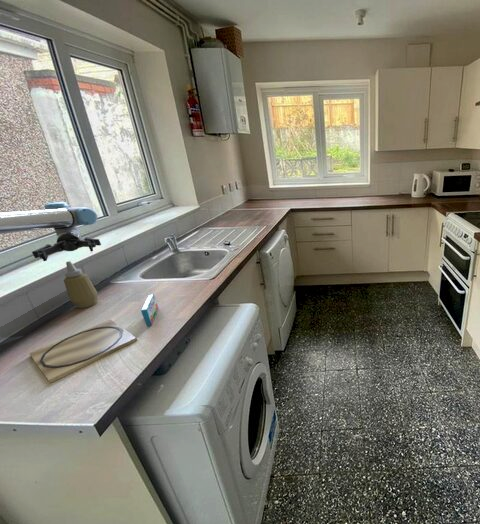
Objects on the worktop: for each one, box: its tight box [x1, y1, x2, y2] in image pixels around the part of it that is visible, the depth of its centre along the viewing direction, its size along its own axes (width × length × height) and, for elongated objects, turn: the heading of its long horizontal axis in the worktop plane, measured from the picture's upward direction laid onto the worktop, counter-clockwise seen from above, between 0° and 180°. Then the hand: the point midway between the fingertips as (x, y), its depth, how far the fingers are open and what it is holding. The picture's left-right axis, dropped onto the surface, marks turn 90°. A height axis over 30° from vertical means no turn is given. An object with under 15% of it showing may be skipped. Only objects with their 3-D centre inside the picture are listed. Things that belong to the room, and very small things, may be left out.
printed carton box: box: [140, 293, 160, 327], centre depth 99 cm, size 12×2×6 cm, turn 23°
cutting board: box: [29, 318, 138, 384], centre depth 86 cm, size 20×20×1 cm
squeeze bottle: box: [63, 260, 98, 309], centre depth 107 cm, size 8×8×18 cm
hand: (67, 252), depth 110 cm, fingers open, 13 cm apart
